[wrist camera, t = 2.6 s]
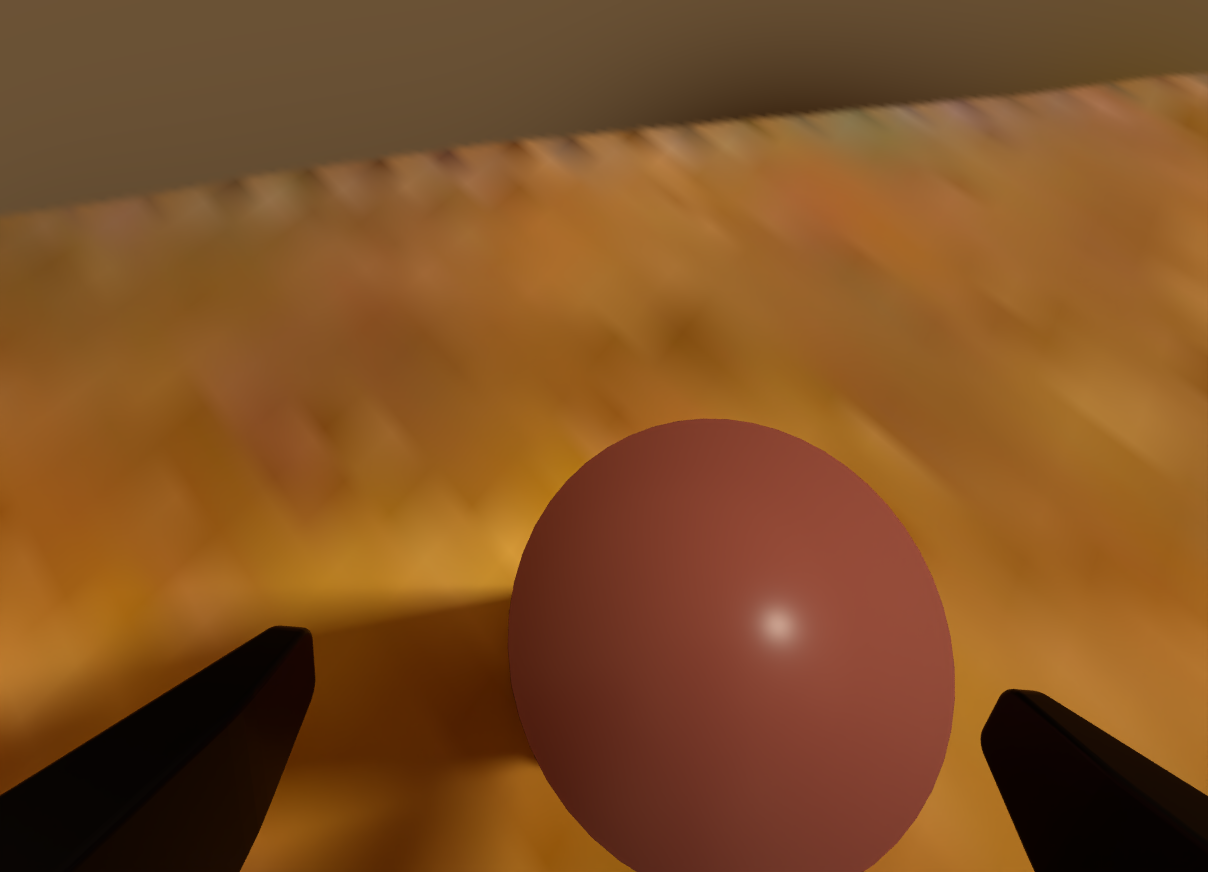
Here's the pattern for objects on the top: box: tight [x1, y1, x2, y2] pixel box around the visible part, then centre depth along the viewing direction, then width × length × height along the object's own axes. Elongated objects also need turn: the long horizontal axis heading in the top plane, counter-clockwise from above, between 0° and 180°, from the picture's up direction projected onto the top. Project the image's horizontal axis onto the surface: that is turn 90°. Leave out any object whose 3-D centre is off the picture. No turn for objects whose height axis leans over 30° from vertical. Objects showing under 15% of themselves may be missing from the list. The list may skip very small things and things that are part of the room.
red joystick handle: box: [508, 419, 955, 872], centre depth 10 cm, size 5×5×11 cm
